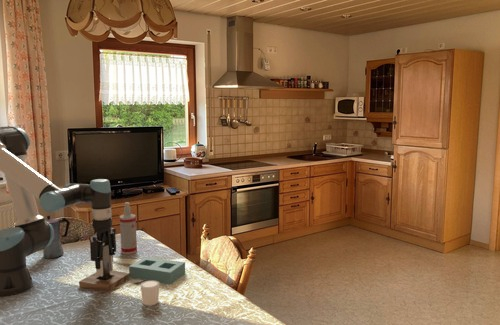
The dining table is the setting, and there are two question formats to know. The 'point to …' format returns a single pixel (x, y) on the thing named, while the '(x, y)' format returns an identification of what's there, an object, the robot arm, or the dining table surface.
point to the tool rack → (157, 270)
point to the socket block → (102, 285)
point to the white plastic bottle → (128, 231)
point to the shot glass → (150, 292)
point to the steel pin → (105, 262)
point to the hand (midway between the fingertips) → (104, 272)
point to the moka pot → (55, 238)
